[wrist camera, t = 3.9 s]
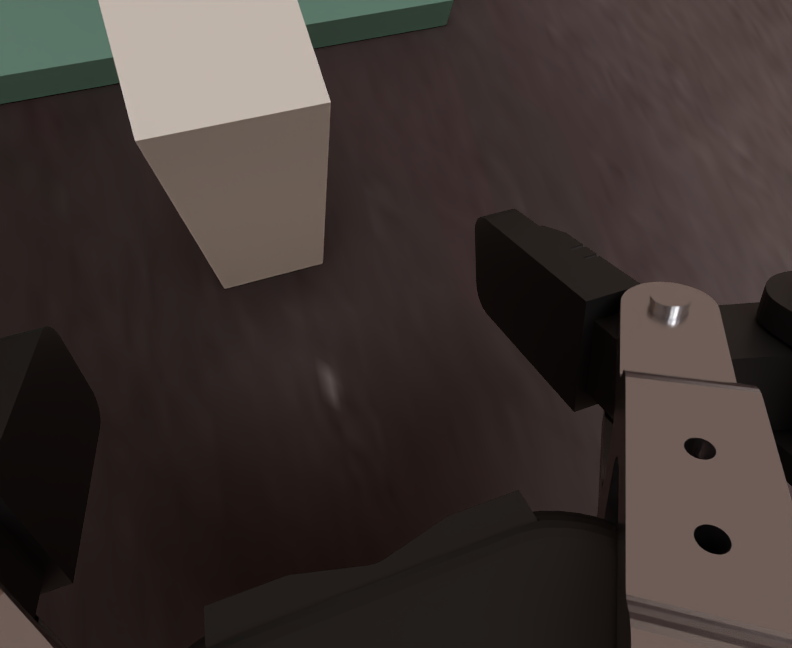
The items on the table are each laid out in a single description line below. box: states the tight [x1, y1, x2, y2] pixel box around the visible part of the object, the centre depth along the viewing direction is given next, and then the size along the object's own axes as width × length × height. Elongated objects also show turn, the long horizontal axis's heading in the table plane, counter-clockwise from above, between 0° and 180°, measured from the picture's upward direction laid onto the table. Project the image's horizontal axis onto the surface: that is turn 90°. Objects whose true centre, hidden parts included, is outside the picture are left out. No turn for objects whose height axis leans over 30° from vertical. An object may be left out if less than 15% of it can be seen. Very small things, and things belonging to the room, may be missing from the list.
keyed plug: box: [98, 0, 331, 289], centre depth 17 cm, size 5×4×11 cm
